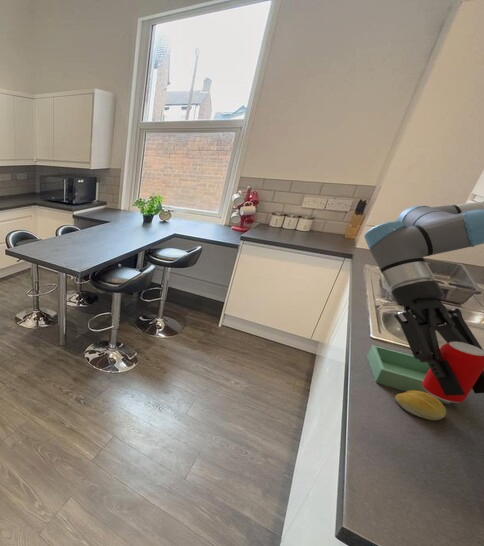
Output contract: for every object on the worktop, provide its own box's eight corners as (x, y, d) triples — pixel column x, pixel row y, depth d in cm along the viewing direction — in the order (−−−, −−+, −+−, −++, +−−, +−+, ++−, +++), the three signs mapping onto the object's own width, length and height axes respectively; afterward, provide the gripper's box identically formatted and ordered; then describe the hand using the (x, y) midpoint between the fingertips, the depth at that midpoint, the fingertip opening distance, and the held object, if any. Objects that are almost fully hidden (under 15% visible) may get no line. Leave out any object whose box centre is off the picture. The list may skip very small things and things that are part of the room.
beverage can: (471, 404, 64) (501, 355, 59) (446, 407, 63) (475, 358, 58) (434, 383, 69) (459, 337, 65) (411, 386, 68) (435, 340, 64)
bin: (431, 374, 93) (437, 361, 91) (449, 404, 81) (457, 390, 80) (366, 356, 100) (372, 344, 98) (375, 382, 89) (381, 369, 87)
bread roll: (387, 401, 82) (393, 389, 81) (409, 394, 85) (415, 382, 83) (428, 425, 75) (435, 413, 73) (451, 417, 77) (458, 405, 76)
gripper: (430, 289, 75) (487, 391, 66) (359, 292, 73) (407, 397, 64) (469, 277, 68) (538, 389, 59) (391, 280, 66) (450, 396, 57)
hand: (470, 393), depth 61 cm, fingers closed on beverage can, 6 cm apart
